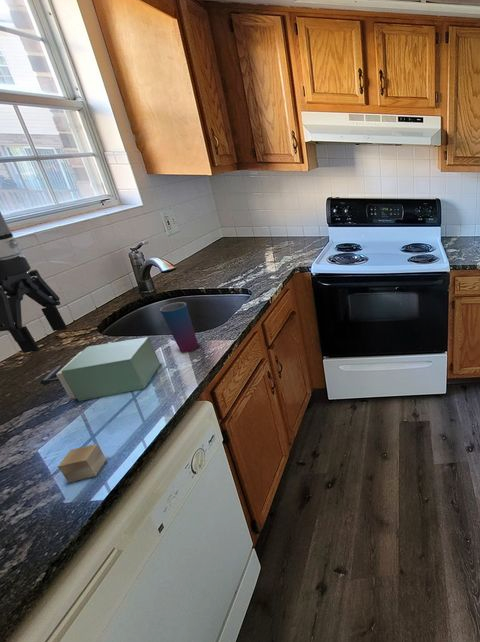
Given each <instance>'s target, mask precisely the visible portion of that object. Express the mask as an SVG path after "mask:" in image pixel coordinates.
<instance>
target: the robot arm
mask: <svg viewBox="0 0 480 642" xmlns="http://www.w3.org/2000/svg"><path fill="white" fill-rule="evenodd" d="M21 253H22V250H21V247H20V246H19V242H18V241H17V240H16V239H15V237H14V235H13V233H12V231H11V229H10V227H9V225H8V223H7V222H6V220H5V218H4V216H3V214H2V212H1V211H0V332H6V331H7V332H8V333H9V334H10V335H11V337H12V339H13V340H14V341H15V342H16V343H17V345H18V346H19V348H20V350H21V352H22V353H23V354H27V353H34V352H38V351H40V349H41V348H40V347H39V346H38V343H37V342H36V341H35V339H34V337H33V335H32V334H31V332H30V330H29V329H28V327H27V325H24V326H23V320H22V318H23V317H22V303H21V301H23V300H24V296H25V295H26V296H27V297H28V298H29V299H31V300H33V302H36V303H37V304H38V305H40V306H41V307H43V308H41V309H40V310H41V312H42V314H43V315H44V317H45V319H46V320H47V323H48V324H49V326H50V328H51V330H52V331H53V332H56V331H63V330H64V331H65V330H67V329H68V326H67V324H66V322H65V320H64V318H63V317H62V315H61V312H60V311H59V309H58V307H57V306H61V301H60V300H61V299H60V297H59V295H58V294H56V292H55V291H54V290H53V289H52V288H51V287H50V285H49V284H47V282H46V281H45V280H44V279H43V278H42V277H41V274H40V273H39V271H38V269H31V265H30V263H29V261H28V260H27V258H26V256H25V255H23V254H21Z"/></svg>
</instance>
